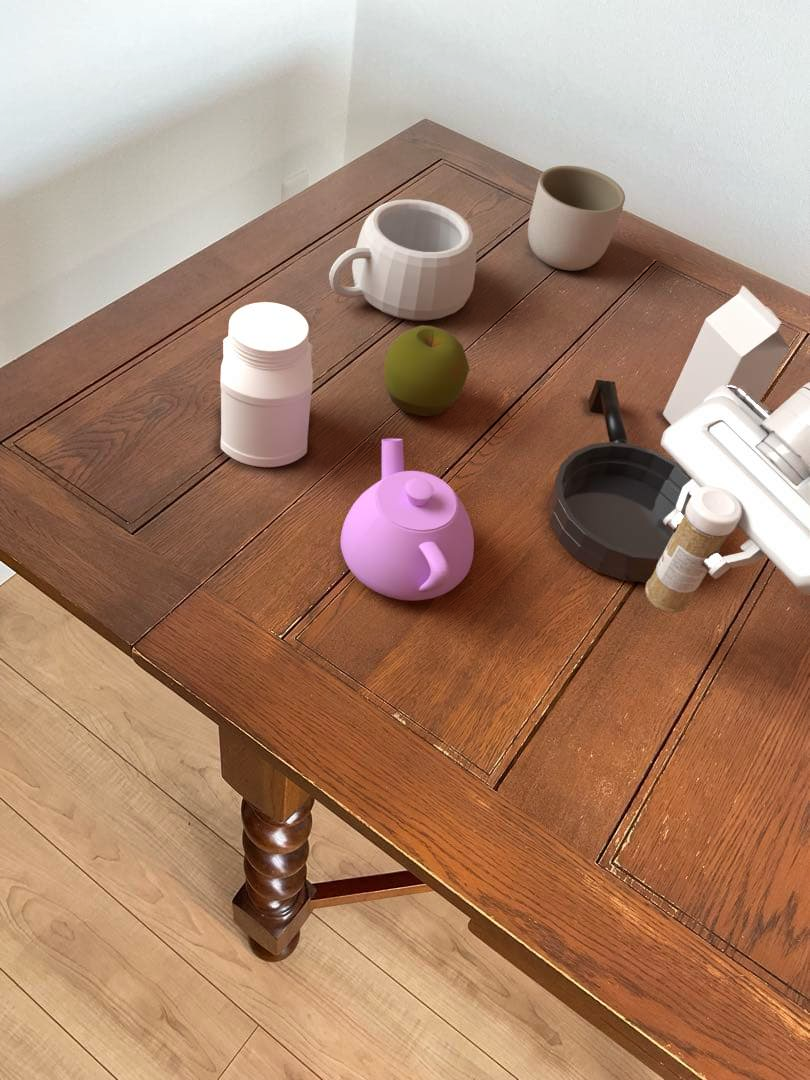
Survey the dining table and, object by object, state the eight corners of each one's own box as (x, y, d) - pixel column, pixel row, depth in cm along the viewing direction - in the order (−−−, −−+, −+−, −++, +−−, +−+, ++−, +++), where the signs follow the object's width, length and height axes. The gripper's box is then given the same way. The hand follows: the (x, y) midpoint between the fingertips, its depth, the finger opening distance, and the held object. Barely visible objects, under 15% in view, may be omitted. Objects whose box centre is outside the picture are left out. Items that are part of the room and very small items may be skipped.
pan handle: (606, 403, 123) (617, 375, 120) (620, 473, 115) (633, 445, 112) (588, 401, 123) (598, 373, 120) (601, 471, 115) (612, 443, 111)
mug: (429, 246, 141) (440, 183, 134) (493, 312, 133) (509, 249, 125) (297, 275, 132) (302, 209, 124) (357, 348, 124) (366, 281, 116)
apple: (386, 432, 114) (399, 358, 106) (371, 378, 120) (382, 304, 112) (467, 428, 116) (486, 356, 108) (449, 376, 122) (465, 304, 114)
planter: (606, 244, 149) (628, 178, 140) (598, 288, 140) (621, 220, 132) (527, 224, 149) (545, 157, 141) (515, 266, 141) (533, 198, 133)
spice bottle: (655, 571, 97) (704, 476, 87) (696, 594, 95) (751, 501, 85) (635, 598, 94) (684, 503, 84) (677, 623, 92) (732, 530, 82)
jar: (224, 396, 114) (224, 289, 103) (306, 401, 116) (315, 296, 104) (219, 465, 107) (218, 358, 95) (306, 470, 108) (316, 364, 97)
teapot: (437, 477, 110) (454, 407, 102) (492, 619, 98) (516, 551, 90) (319, 489, 106) (327, 417, 98) (360, 637, 94) (373, 568, 86)
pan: (680, 477, 116) (694, 450, 113) (710, 591, 105) (726, 565, 101) (539, 462, 114) (548, 434, 111) (554, 577, 103) (565, 550, 100)
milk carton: (693, 452, 119) (756, 327, 105) (661, 415, 123) (718, 289, 109) (738, 441, 122) (805, 318, 108) (705, 405, 126) (766, 281, 112)
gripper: (724, 361, 88) (609, 464, 92) (891, 514, 78) (754, 625, 81) (740, 387, 94) (630, 484, 97) (899, 535, 83) (770, 638, 86)
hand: (688, 550), depth 89 cm, fingers closed on spice bottle, 4 cm apart
